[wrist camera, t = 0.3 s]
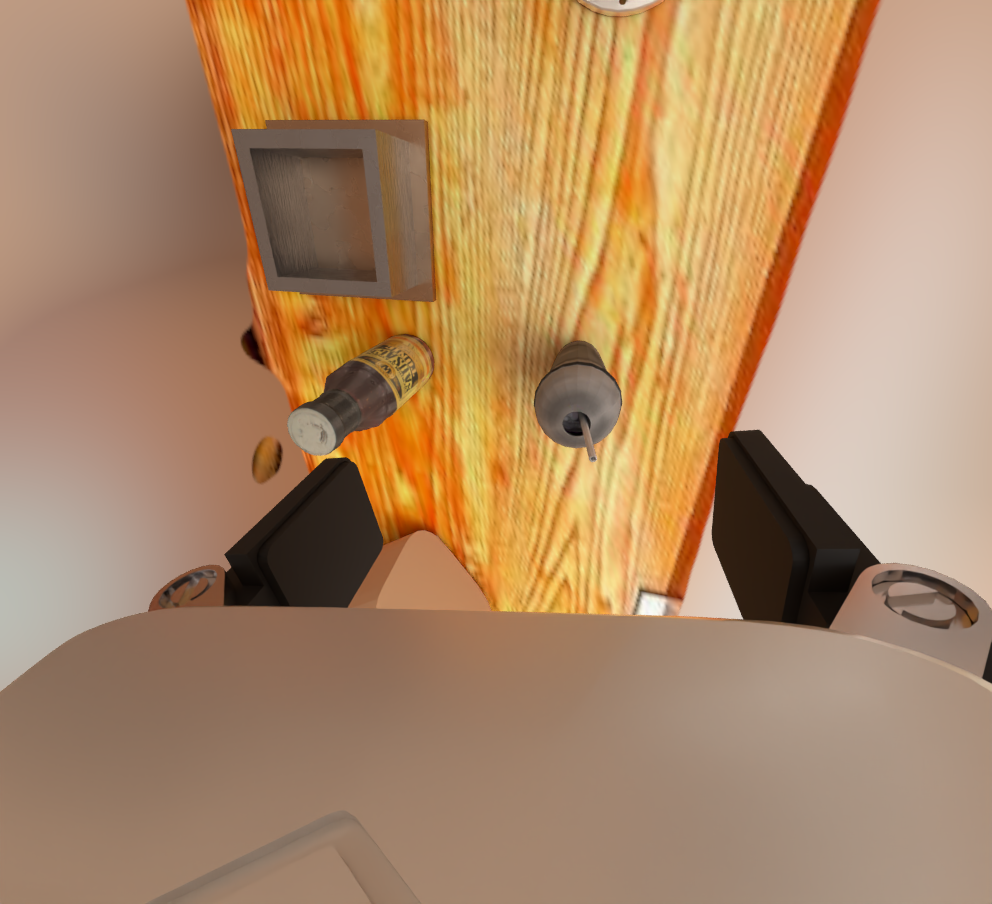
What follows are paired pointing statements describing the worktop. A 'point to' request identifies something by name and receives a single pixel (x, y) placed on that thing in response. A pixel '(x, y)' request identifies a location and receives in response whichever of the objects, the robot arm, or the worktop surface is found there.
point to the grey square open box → (342, 206)
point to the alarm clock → (419, 578)
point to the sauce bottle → (362, 393)
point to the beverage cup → (578, 399)
